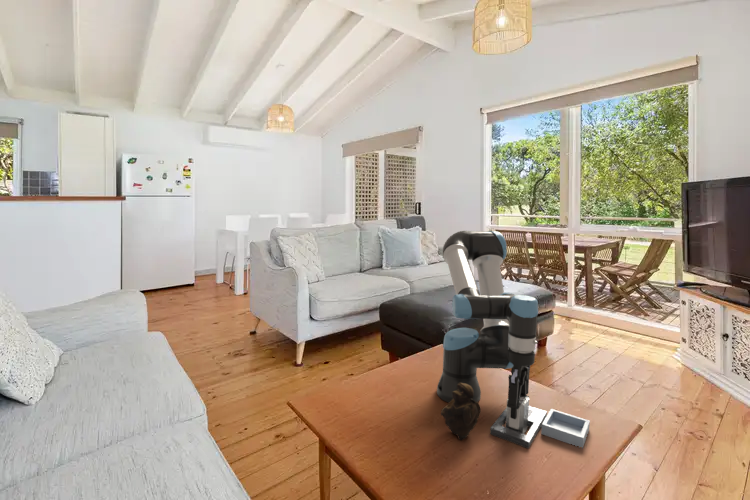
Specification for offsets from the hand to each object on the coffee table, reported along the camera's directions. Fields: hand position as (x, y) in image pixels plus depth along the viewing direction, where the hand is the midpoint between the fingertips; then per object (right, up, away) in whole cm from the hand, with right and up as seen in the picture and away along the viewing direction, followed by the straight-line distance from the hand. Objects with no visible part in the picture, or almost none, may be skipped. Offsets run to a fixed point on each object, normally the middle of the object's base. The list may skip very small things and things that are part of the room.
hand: (516, 422), depth 116 cm
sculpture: (-17, -3, -3) cm, 18 cm away
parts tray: (+14, -2, -1) cm, 15 cm away
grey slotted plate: (+2, -2, +3) cm, 4 cm away
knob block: (0, -2, 0) cm, 2 cm away
